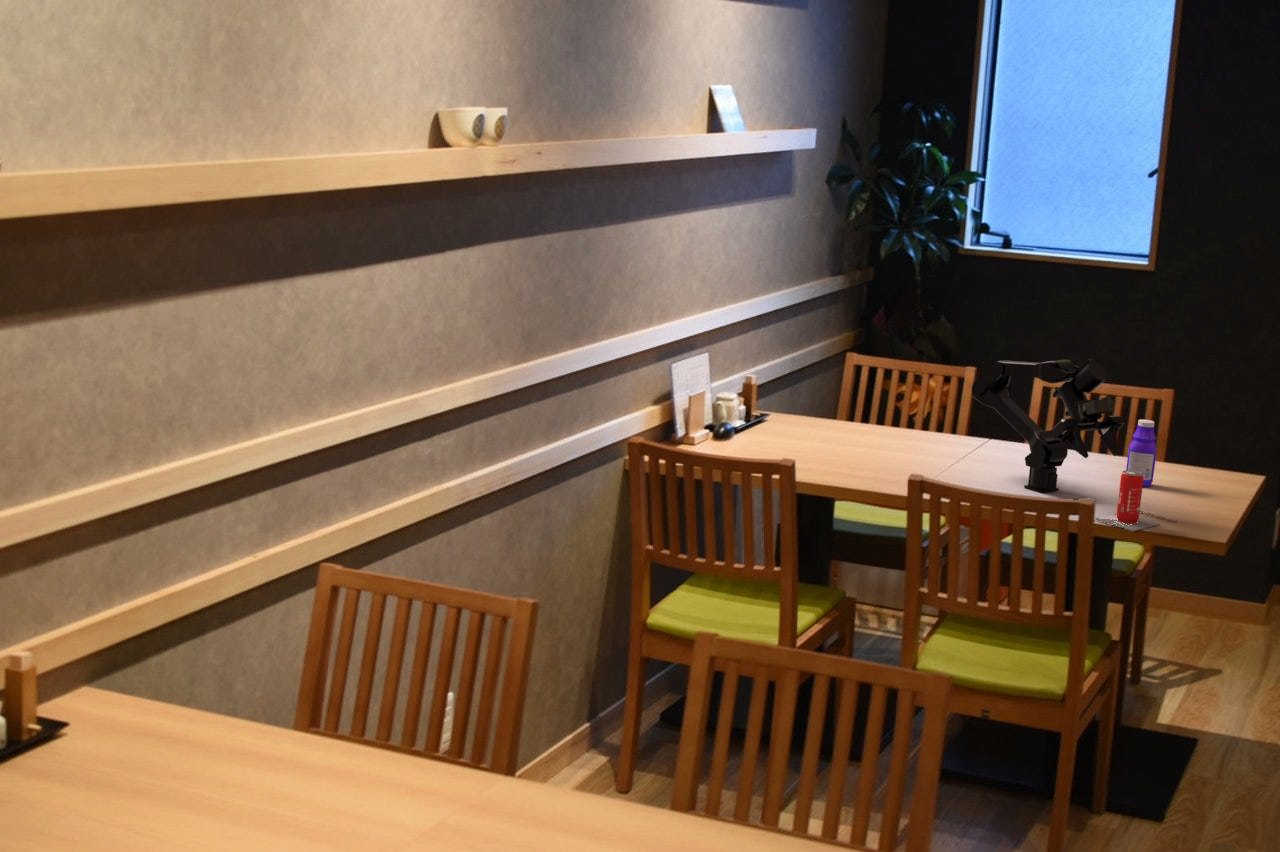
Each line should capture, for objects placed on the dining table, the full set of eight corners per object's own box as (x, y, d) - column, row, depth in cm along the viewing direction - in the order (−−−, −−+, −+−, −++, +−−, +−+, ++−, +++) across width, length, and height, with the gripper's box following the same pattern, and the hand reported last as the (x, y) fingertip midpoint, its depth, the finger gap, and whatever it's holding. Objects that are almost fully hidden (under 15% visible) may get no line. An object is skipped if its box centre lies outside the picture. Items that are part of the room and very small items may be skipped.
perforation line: (1124, 508, 381) (1124, 507, 381) (1127, 508, 382) (1127, 506, 382) (1173, 522, 371) (1174, 521, 371) (1176, 522, 371) (1176, 520, 371)
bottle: (1152, 483, 408) (1160, 420, 404) (1152, 488, 402) (1160, 424, 398) (1124, 480, 410) (1131, 417, 406) (1123, 485, 405) (1131, 421, 401)
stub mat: (1093, 520, 370) (1093, 518, 370) (1121, 514, 376) (1121, 512, 376) (1132, 531, 361) (1132, 530, 361) (1159, 525, 368) (1160, 523, 368)
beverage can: (1129, 525, 366) (1135, 476, 363) (1111, 519, 369) (1117, 471, 367) (1142, 522, 369) (1148, 473, 366) (1124, 516, 373) (1129, 469, 370)
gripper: (1064, 387, 374) (1090, 441, 367) (1123, 383, 382) (1150, 436, 375) (1040, 411, 383) (1064, 465, 376) (1099, 408, 391) (1124, 460, 383)
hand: (1101, 456), depth 377 cm, fingers open, 9 cm apart
